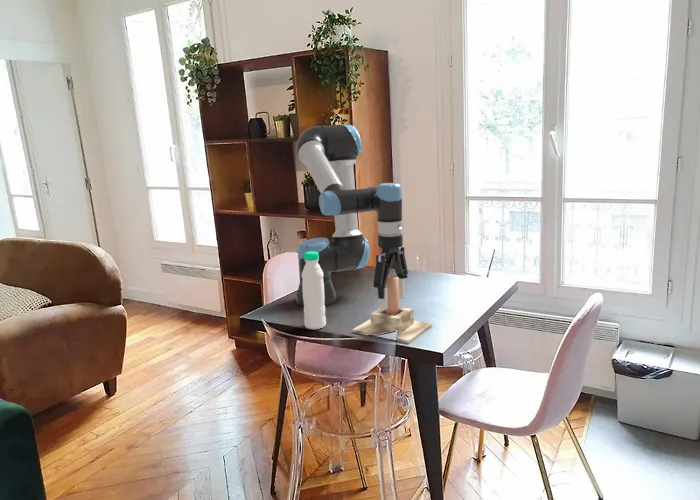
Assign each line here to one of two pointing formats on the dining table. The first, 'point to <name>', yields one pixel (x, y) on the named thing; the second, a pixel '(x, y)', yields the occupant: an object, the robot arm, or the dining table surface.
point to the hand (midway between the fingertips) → (391, 302)
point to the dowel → (392, 295)
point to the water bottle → (313, 292)
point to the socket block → (394, 325)
